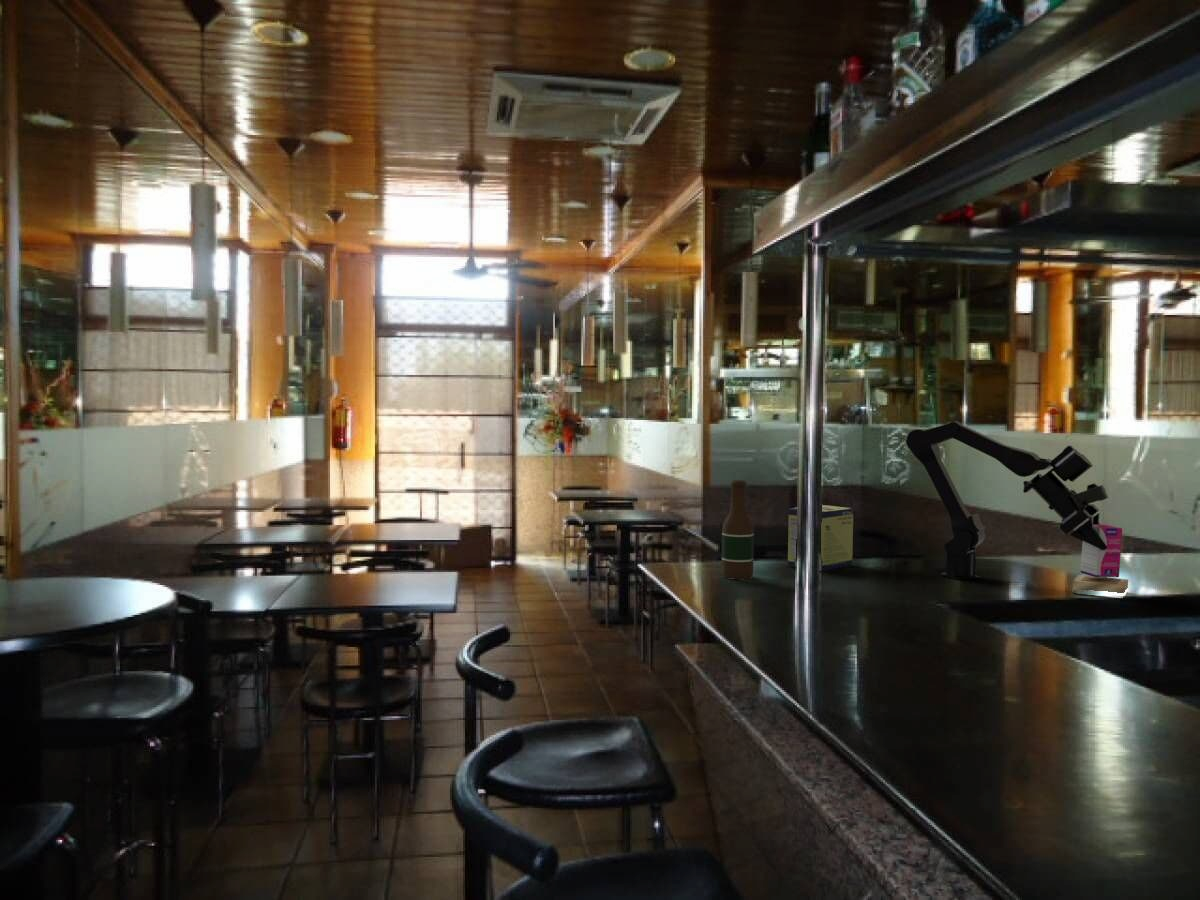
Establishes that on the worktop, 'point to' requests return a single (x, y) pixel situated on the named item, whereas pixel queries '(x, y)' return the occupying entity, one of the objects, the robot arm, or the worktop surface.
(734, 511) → the beer bottle
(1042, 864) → the worktop surface
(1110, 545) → the supplement box
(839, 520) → the protein box
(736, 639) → the worktop surface
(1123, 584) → the beech base block
